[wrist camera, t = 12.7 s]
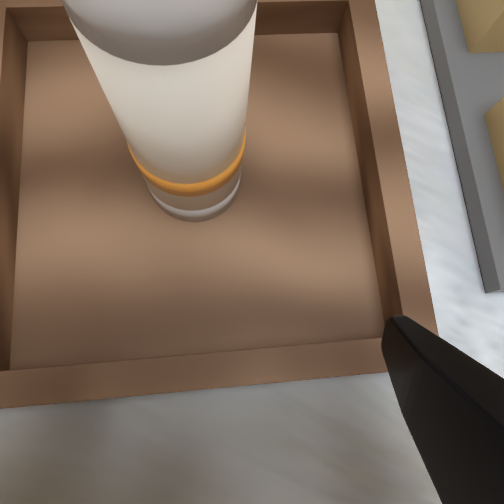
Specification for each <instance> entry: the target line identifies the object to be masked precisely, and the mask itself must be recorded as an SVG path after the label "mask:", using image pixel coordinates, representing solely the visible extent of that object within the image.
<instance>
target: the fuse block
mask: <svg viewBox="0 0 504 504" xmlns="http://www.w3.org/2000/svg"><path fill="white" fill-rule="evenodd" d="M420 2H421V6H422V11H423V15H424V19H425V24H426V28H427V33H428V37H429V42H430V46H431V51H432V55H433V60H434V64H435V69H436V73H437V77H438V82H439V86H440V91H441V95H442V100H443V104H444V109H445V113H446V118H447V122H448V127H449V131H450V135H451V140H452V144H453V149H454V153H455V158H456V162H457V167H458V171H459V176H460V180H461V185H462V189H463V193H464V198H465V202H466V207H467V211H468V216H469V220H470V225H471V229H472V234H473V238H474V242H475V247H476V251H477V256H478V260H479V265H480V269H481V274H482V278H483V283H484V287H485V292H486V293H492V292H504V0H420Z"/></svg>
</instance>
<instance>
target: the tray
mask: <svg viewBox="0 0 504 504" xmlns="http://www.w3.org/2000/svg"><path fill="white" fill-rule="evenodd" d="M245 126H246V139H245V149H244V156H243V160H242V166H241V176H240V186H239V190H238V194H237V196H236V198H235V200H234V201H233V203H232V204H231V206H230V207H229V208H228V209H227V210H226V211H224V212H223V213H222V214H220V215H219V216H217V217H215V218H212V219H210V220H206V221H201V222H188V221H183V220H179V219H176V218H174V217H172V216H170V215H168V214H167V213H166V212H164V211H163V210H162V209H161V208H160V207H159V206H158V204H157V203H156V202H155V200H154V198H153V196H152V194H151V192H150V190H149V188H148V186H147V183H146V181H145V179H144V177H143V175H142V174H141V172H140V171H139V169H138V167H137V165H136V163H135V161H134V159H133V157H132V155H131V153H130V150H129V148H128V144H127V141H126V138H125V136H124V134H123V132H122V130H121V128H120V126H119V123H118V121H117V119H116V117H115V115H114V113H113V111H112V108H111V106H110V104H109V102H108V100H107V98H106V96H105V93H104V91H103V89H102V87H101V85H100V83H99V81H98V78H97V76H96V74H95V72H94V70H93V68H92V66H91V63H90V61H89V59H88V57H87V55H86V53H85V51H84V48H83V46H82V44H81V42H80V40H79V38H78V36H77V33H76V31H75V29H74V27H73V25H72V23H71V21H70V18H69V16H68V14H67V12H66V10H65V8H64V6H63V3H62V1H61V0H0V409H3V408H13V407H24V406H34V405H45V404H55V403H66V402H76V401H87V400H97V399H108V398H118V397H129V396H139V395H150V394H160V393H171V392H181V391H192V390H202V389H213V388H224V387H234V386H245V385H255V384H266V383H276V382H287V381H297V380H308V379H318V378H329V377H339V376H350V375H360V374H371V373H381V372H388V369H387V366H386V363H385V360H384V357H383V354H382V350H381V341H382V336H383V331H384V326H385V322H386V319H387V318H388V317H389V316H398V315H405V316H408V317H409V318H411V319H412V320H414V321H416V322H417V323H419V324H420V325H422V326H423V327H425V328H426V329H428V330H429V331H431V332H433V333H434V334H436V335H437V336H439V335H438V330H437V324H436V319H435V314H434V309H433V304H432V298H431V293H430V288H429V283H428V277H427V272H426V267H425V262H424V257H423V251H422V246H421V241H420V236H419V230H418V225H417V220H416V215H415V209H414V204H413V199H412V194H411V189H410V183H409V178H408V173H407V168H406V162H405V157H404V152H403V147H402V142H401V136H400V131H399V126H398V121H397V115H396V110H395V105H394V100H393V94H392V89H391V84H390V79H389V74H388V68H387V63H386V58H385V53H384V47H383V42H382V37H381V32H380V27H379V21H378V16H377V11H376V6H375V0H257V10H256V21H255V31H254V42H253V52H252V62H251V73H250V83H249V93H248V104H247V114H246V124H245Z"/></svg>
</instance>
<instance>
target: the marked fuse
mask: <svg viewBox="0 0 504 504" xmlns="http://www.w3.org/2000/svg"><path fill="white" fill-rule="evenodd" d="M61 1H62V3H63V6H64V8H65V10H66V12H67V14H68V16H69V18H70V21H71V23H72V25H73V27H74V29H75V31H76V33H77V36H78V38H79V40H80V42H81V44H82V46H83V48H84V51H85V53H86V55H87V57H88V59H89V61H90V63H91V66H92V68H93V70H94V72H95V74H96V76H97V78H98V81H99V83H100V85H101V87H102V89H103V91H104V93H105V96H106V98H107V100H108V102H109V104H110V106H111V108H112V111H113V113H114V115H115V117H116V119H117V121H118V123H119V126H120V128H121V130H122V132H123V134H124V136H125V138H126V141H127V144H128V148H129V150H130V153H131V155H132V157H133V159H134V161H135V163H136V165H137V167H138V169H139V171H140V172H141V174H142V175H143V177H144V179H145V181H146V183H147V186H148V188H149V190H150V192H151V194H152V196H153V198H154V200H155V202H156V203H157V204H158V206H159V207H160V208H161V209H162V210H163V211H164V212H166V213H167V214H168V215H170V216H172V217H174V218H176V219H179V220H183V221H188V222H201V221H206V220H210V219H212V218H215V217H217V216H219V215H220V214H222V213H223V212H224V211H226V210H227V209H228V208H229V207H230V206H231V204H232V203H233V201H234V200H235V198H236V196H237V194H238V190H239V186H240V176H241V166H242V160H243V156H244V149H245V139H246V126H245V124H246V114H247V104H248V93H249V83H250V73H251V62H252V52H253V42H254V31H255V21H256V10H257V0H61Z"/></svg>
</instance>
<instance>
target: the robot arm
mask: <svg viewBox="0 0 504 504" xmlns="http://www.w3.org/2000/svg"><path fill="white" fill-rule="evenodd" d="M381 350H382V354H383V357H384V360H385V363H386V366H387V369H388V372H389V375H390V379H391V382H392V385H393V388H394V391H395V394H396V397H397V400H398V403H399V406H400V409H401V412H402V414H403V417H404V419H405V422H406V424H407V426H408V428H409V431H410V433H411V435H412V437H413V439H414V442H415V444H416V446H417V448H418V451H419V453H420V455H421V457H422V459H423V462H424V464H425V466H426V468H427V471H428V473H429V475H430V477H431V480H432V482H433V484H434V486H435V488H436V491H437V493H438V495H439V497H440V500H441V502H442V504H504V379H503V378H502V377H500V376H499V375H497V374H496V373H494V372H493V371H491V370H490V369H488V368H487V367H485V366H483V365H482V364H480V363H479V362H477V361H476V360H474V359H473V358H471V357H470V356H468V355H466V354H465V353H463V352H462V351H460V350H459V349H457V348H456V347H454V346H453V345H451V344H449V343H448V342H446V341H445V340H443V339H442V338H440V337H439V336H437V335H436V334H434V333H433V332H431V331H429V330H428V329H426V328H425V327H423V326H422V325H420V324H419V323H417V322H416V321H414V320H412V319H411V318H409V317H408V316H405V315H398V316H389V317H388V318H387V319H386V322H385V326H384V331H383V336H382V341H381Z"/></svg>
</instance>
